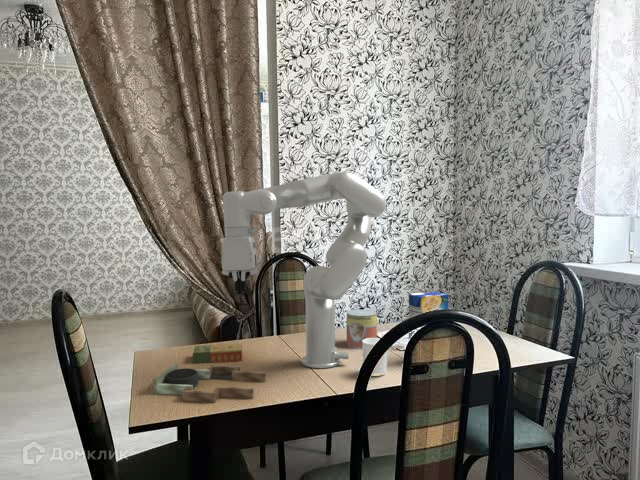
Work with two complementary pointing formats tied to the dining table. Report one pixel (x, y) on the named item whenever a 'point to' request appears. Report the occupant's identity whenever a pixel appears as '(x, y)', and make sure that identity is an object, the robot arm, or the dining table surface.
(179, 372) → the smart speaker
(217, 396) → the wooden flat frame
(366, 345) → the white cup
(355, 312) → the canned food
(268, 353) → the dining table surface
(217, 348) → the carton
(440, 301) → the beverage box
